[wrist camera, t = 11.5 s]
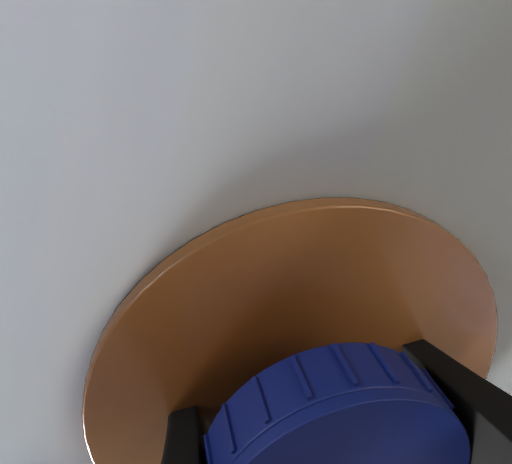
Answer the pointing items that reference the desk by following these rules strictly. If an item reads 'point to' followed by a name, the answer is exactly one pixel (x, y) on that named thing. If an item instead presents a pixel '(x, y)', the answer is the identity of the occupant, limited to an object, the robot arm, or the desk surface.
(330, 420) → the lid
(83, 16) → the desk surface
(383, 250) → the coaster
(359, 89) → the desk surface
